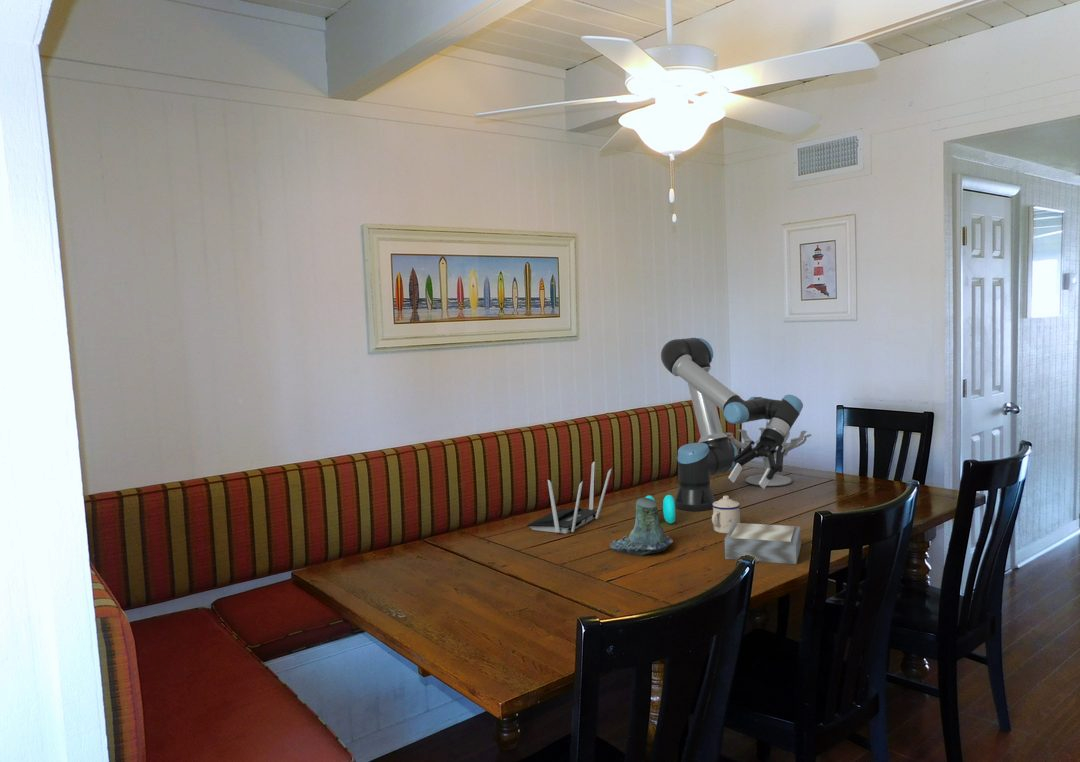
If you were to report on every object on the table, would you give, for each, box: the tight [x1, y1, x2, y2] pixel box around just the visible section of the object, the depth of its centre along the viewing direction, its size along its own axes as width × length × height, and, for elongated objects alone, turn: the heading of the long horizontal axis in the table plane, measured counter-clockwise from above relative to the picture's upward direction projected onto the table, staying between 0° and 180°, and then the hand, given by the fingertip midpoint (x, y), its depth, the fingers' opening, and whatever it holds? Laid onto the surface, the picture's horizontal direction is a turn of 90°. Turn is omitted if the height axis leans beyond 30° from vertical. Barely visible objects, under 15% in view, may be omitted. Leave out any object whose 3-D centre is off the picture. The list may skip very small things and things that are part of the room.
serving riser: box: [724, 522, 802, 565], centre depth 228 cm, size 20×18×6 cm
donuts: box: [644, 494, 676, 524], centre depth 266 cm, size 10×10×10 cm
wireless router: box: [526, 461, 613, 534], centre depth 268 cm, size 34×23×20 cm
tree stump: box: [609, 497, 674, 556], centre depth 237 cm, size 19×21×19 cm
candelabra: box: [725, 421, 812, 487], centre depth 320 cm, size 34×35×27 cm
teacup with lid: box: [711, 495, 741, 535], centre depth 252 cm, size 12×9×12 cm
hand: (745, 483), depth 257 cm, fingers open, 13 cm apart
